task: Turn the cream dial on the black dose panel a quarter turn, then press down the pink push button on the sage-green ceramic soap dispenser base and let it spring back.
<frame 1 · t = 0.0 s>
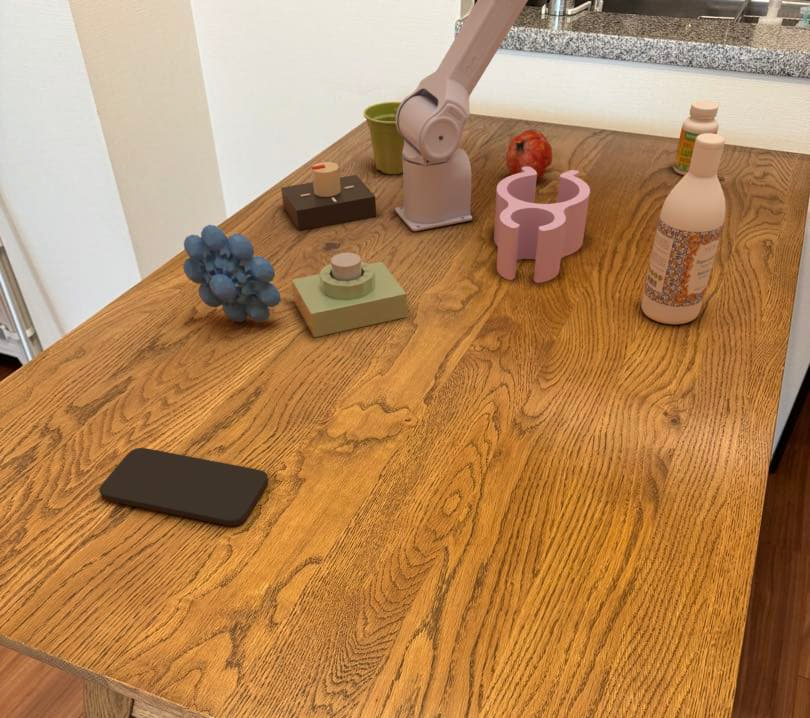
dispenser: (350, 309, 98), on the table
supplement bottle: (689, 171, 126), on the table
phone: (185, 490, 75), on the table
dial panel: (329, 211, 118), on the table
clip: (535, 248, 109), on the table
dial: (326, 178, 115), point 5 cm above the table, hinge at 0.0°
plant pot: (395, 169, 130), on the table
bath foam: (669, 313, 96), on the table
pink push button: (346, 267, 94), point 6 cm above the table, slide at 0.1 cm
grapes: (237, 326, 96), on the table
pomegranate: (527, 179, 125), on the table
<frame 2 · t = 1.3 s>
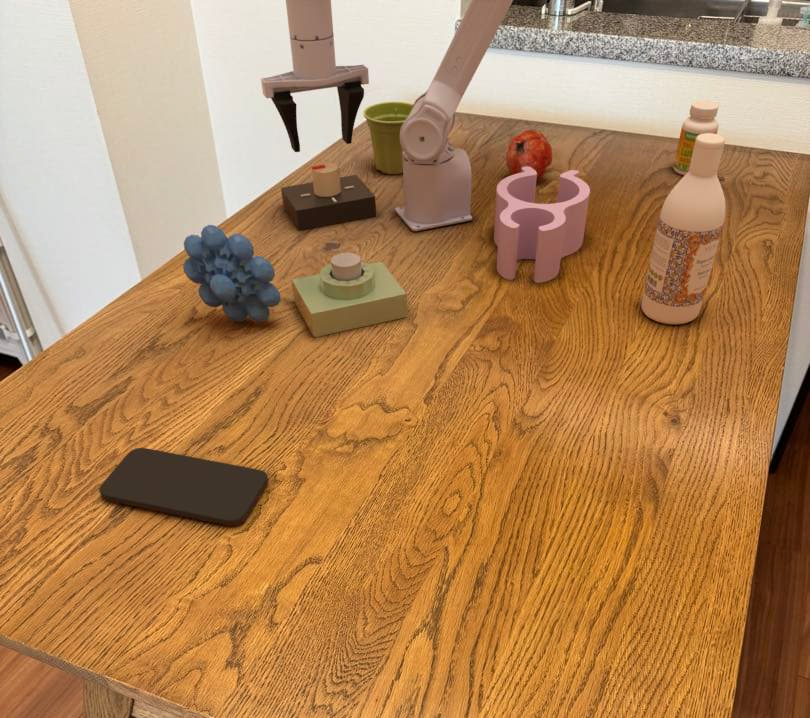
hand: (321, 145, 111), 10 cm above the table, tool pointing down, fingers open, 7 cm apart
nothing on the table moved.
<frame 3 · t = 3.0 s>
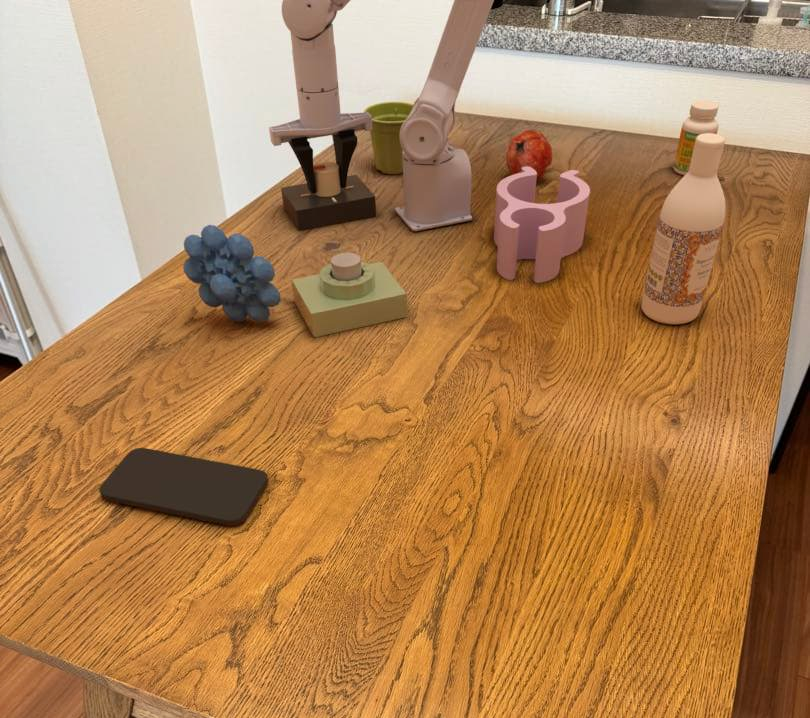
hand: (327, 188, 116), 4 cm above the table, tool pointing down, fingers closed on dial, 4 cm apart
dial: (326, 178, 115), point 5 cm above the table, hinge at -0.1°, touching gripper
everything else where it was.
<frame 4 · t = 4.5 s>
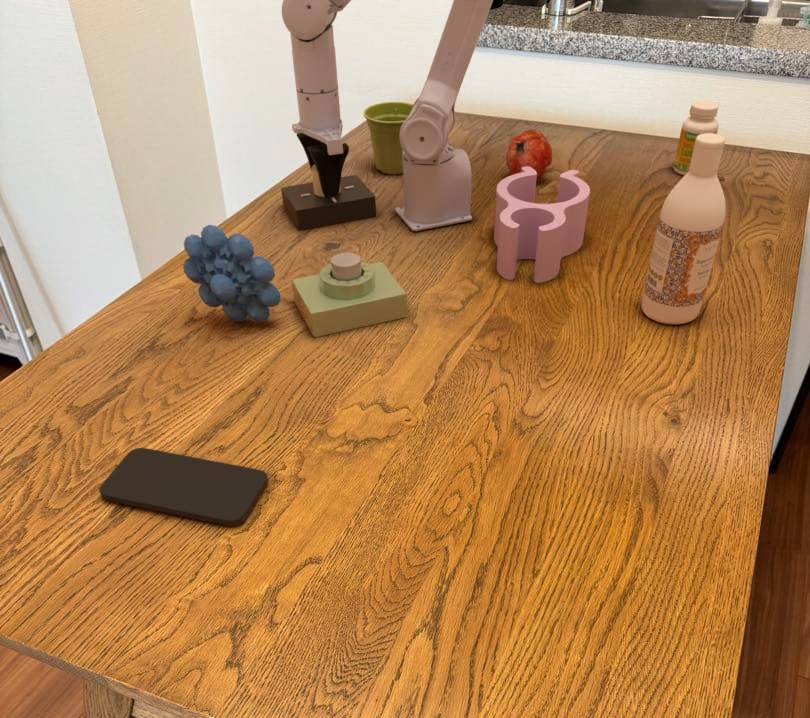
hand: (326, 189, 116), 3 cm above the table, tool pointing down, fingers closed on dial, 4 cm apart
dial: (326, 178, 115), point 5 cm above the table, hinge at 89.9°, touching gripper
everything else where it was.
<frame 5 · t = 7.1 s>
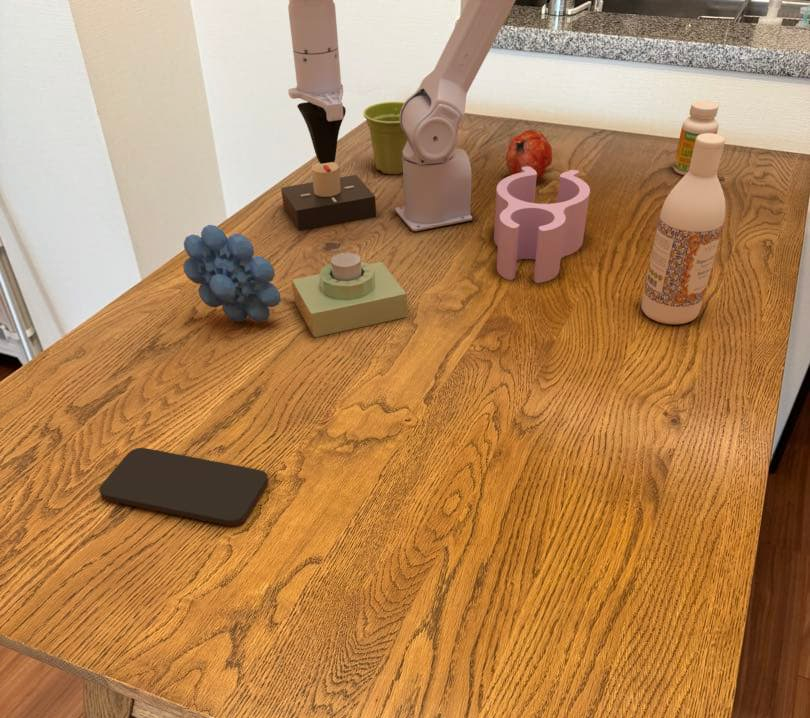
hand: (326, 161, 108), 9 cm above the table, tool pointing down, fingers closed
dial: (326, 178, 115), point 5 cm above the table, hinge at 90.8°
everything else where it was.
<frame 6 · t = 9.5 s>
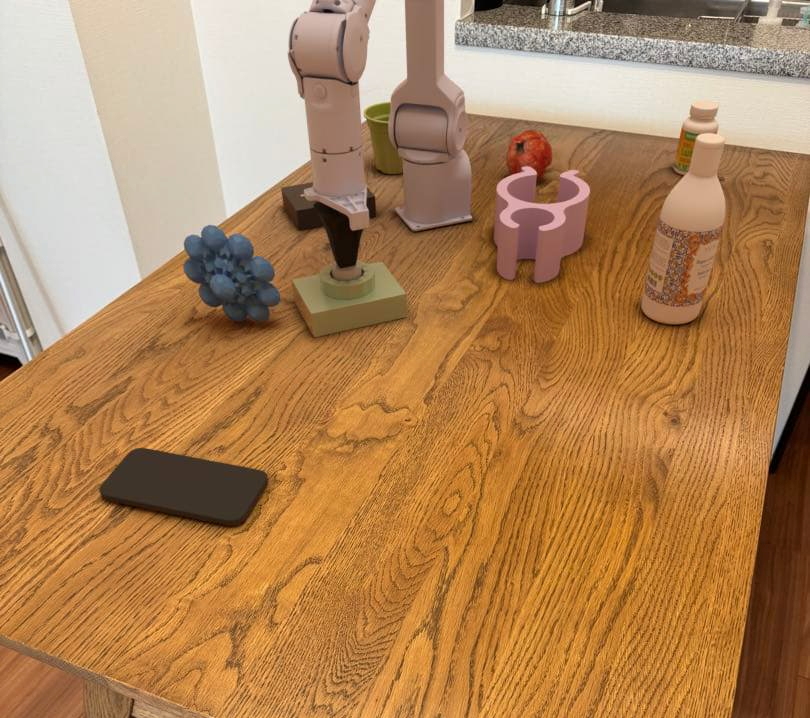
hand: (346, 264, 94), 6 cm above the table, tool pointing down, fingers closed, pressing on pink push button
pink push button: (346, 272, 94), point 5 cm above the table, slide at -0.5 cm, touching gripper
everything else where it was.
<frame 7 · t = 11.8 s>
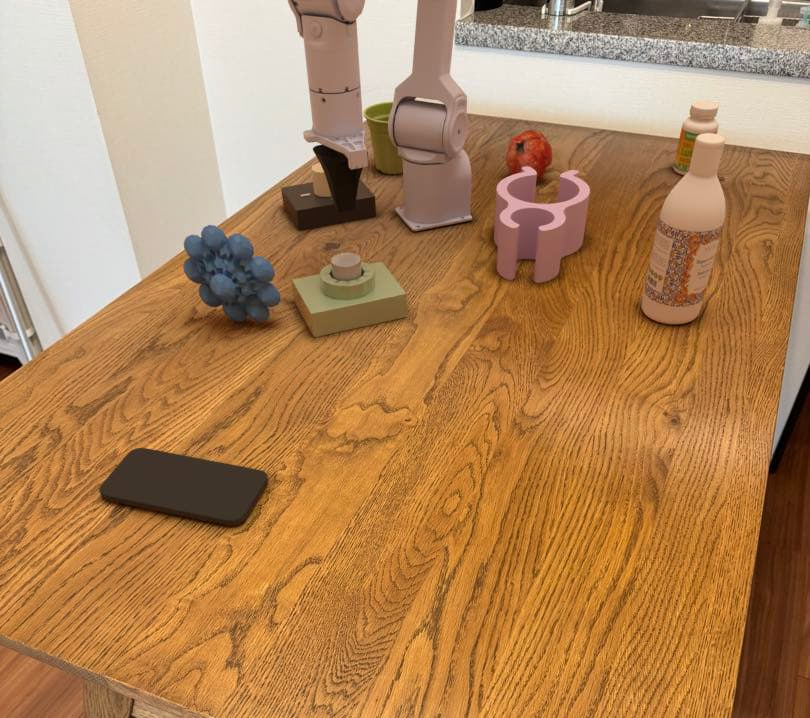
hand: (345, 209, 96), 10 cm above the table, tool pointing down, fingers closed
pink push button: (346, 267, 94), point 6 cm above the table, slide at 0.1 cm
everything else where it was.
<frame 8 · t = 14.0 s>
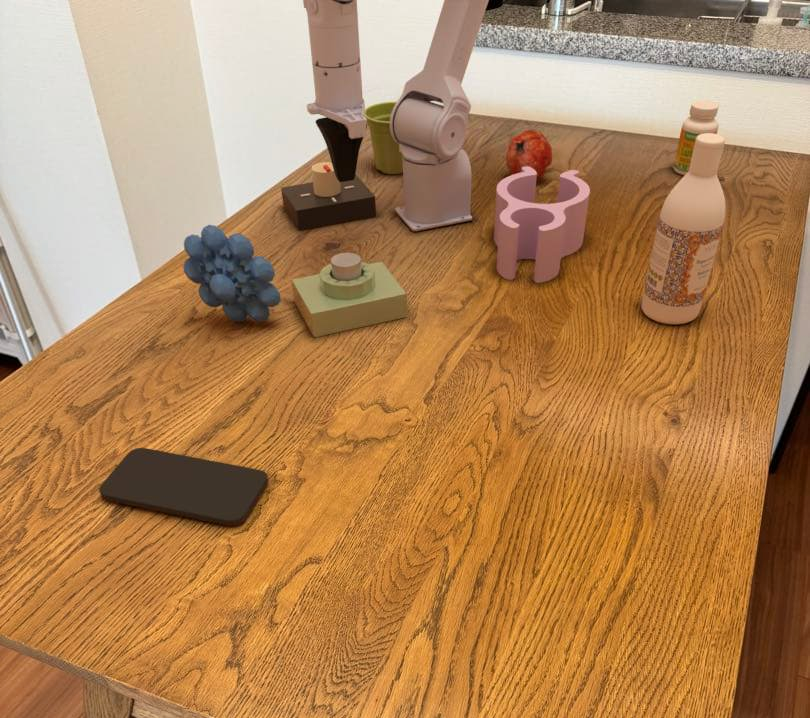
hand: (345, 179, 102), 10 cm above the table, tool pointing down, fingers closed
nothing on the table moved.
at the end: dial at +91° (first picture: +0°); pink push button pushed in 1.2 cm at the most during the clip, back to where it started at the end; pink push button slide at 0.1 cm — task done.
